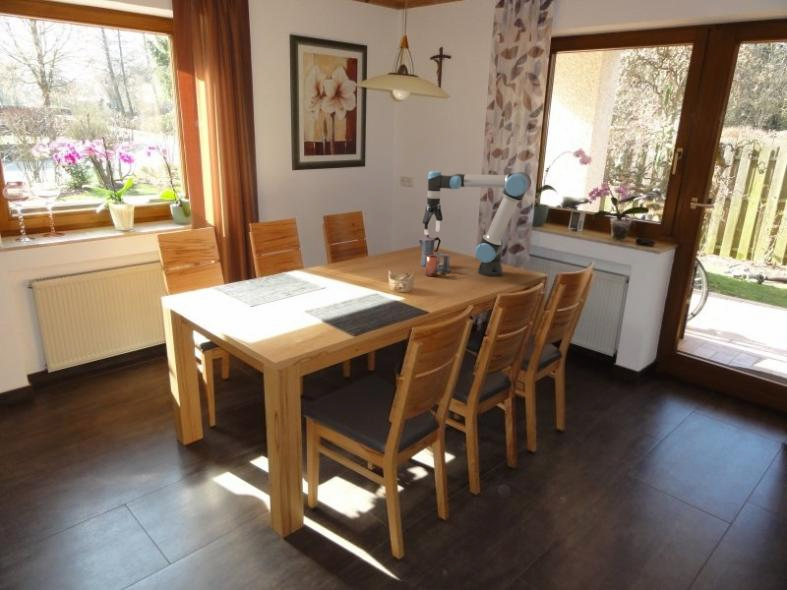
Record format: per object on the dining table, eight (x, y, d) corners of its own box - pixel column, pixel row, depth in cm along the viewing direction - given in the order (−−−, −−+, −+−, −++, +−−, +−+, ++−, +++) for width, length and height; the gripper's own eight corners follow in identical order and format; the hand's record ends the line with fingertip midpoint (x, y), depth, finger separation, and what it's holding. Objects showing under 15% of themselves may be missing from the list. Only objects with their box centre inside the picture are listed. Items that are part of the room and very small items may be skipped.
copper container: (449, 269, 344) (451, 251, 340) (433, 276, 327) (434, 257, 323) (439, 267, 348) (441, 249, 344) (423, 274, 330) (424, 255, 327)
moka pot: (413, 264, 355) (415, 233, 349) (434, 262, 361) (436, 232, 355) (420, 268, 347) (422, 236, 341) (442, 266, 353) (444, 235, 347)
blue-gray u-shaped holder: (450, 271, 342) (451, 254, 338) (445, 273, 337) (447, 256, 334) (436, 268, 347) (437, 252, 343) (431, 270, 342) (432, 253, 339)
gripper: (438, 195, 341) (436, 229, 347) (417, 199, 321) (416, 235, 328) (449, 196, 337) (447, 230, 344) (428, 200, 317) (427, 236, 324)
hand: (432, 233), depth 336 cm, fingers open, 13 cm apart
